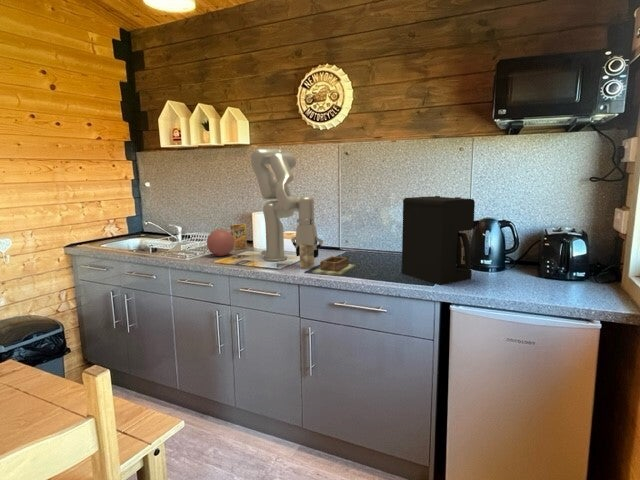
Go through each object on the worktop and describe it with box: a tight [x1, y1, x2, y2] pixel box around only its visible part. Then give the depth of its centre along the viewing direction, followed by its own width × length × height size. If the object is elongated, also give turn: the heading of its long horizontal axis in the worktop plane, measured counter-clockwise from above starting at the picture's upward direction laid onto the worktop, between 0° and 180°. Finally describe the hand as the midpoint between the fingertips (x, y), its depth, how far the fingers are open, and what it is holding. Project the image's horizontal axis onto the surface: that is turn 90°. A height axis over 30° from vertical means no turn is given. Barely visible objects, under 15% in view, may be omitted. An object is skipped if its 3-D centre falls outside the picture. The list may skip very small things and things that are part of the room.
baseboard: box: [165, 240, 195, 254], centre depth 263 cm, size 31×3×12 cm
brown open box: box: [312, 255, 357, 277], centre depth 199 cm, size 14×20×5 cm
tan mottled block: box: [299, 244, 316, 270], centre depth 205 cm, size 4×8×12 cm, turn 154°
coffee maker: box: [401, 195, 476, 286], centre depth 181 cm, size 28×20×35 cm
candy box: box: [230, 223, 248, 251], centre depth 257 cm, size 9×4×15 cm, turn 126°
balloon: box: [206, 228, 235, 257], centre depth 238 cm, size 15×20×15 cm
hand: (307, 256), depth 205 cm, fingers open, 9 cm apart
